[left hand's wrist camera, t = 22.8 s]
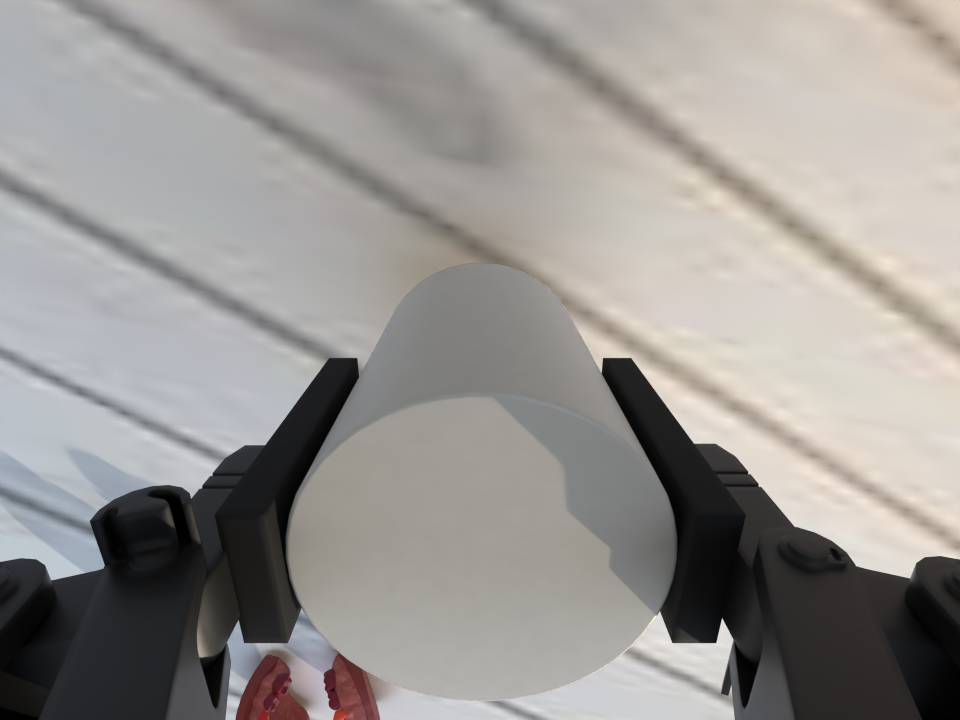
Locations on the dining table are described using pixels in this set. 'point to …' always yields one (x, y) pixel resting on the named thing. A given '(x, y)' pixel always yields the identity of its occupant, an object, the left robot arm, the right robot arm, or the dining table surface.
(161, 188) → the dining table surface
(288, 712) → the dental model
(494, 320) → the canister
